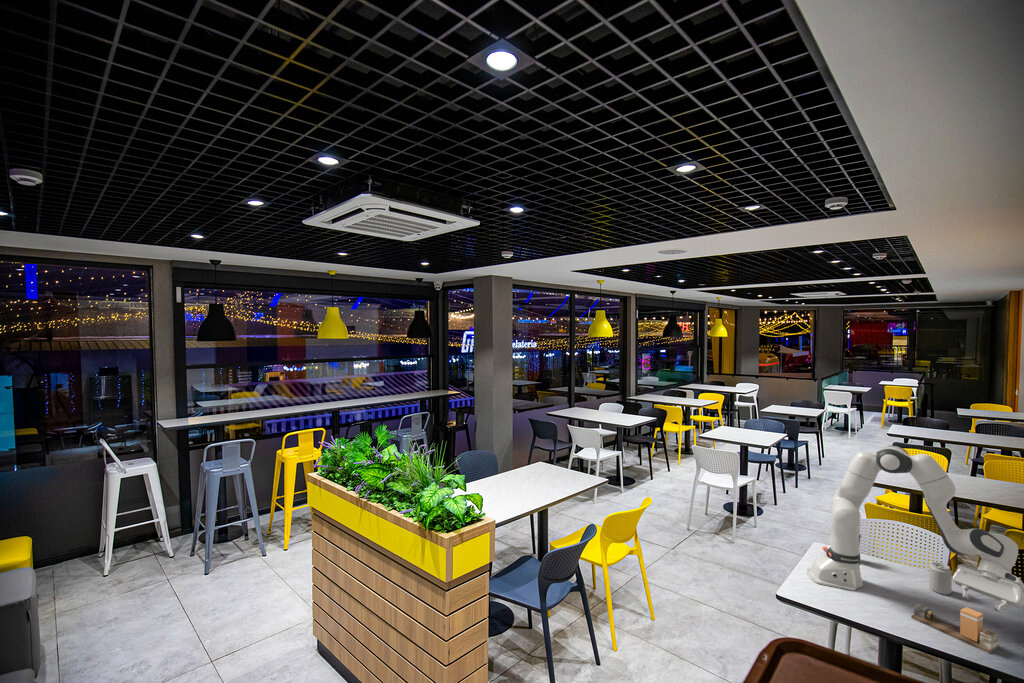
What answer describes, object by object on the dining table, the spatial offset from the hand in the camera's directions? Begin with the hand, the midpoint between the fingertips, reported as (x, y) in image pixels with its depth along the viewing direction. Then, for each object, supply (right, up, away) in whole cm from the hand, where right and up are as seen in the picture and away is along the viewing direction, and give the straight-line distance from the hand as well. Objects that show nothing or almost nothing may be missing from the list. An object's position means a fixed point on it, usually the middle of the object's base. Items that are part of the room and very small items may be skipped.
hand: (980, 604), depth 183 cm
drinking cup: (-6, -11, +61) cm, 62 cm away
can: (+13, -12, +31) cm, 36 cm away
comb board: (-9, -12, +2) cm, 15 cm away
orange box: (-6, -11, -3) cm, 13 cm away
